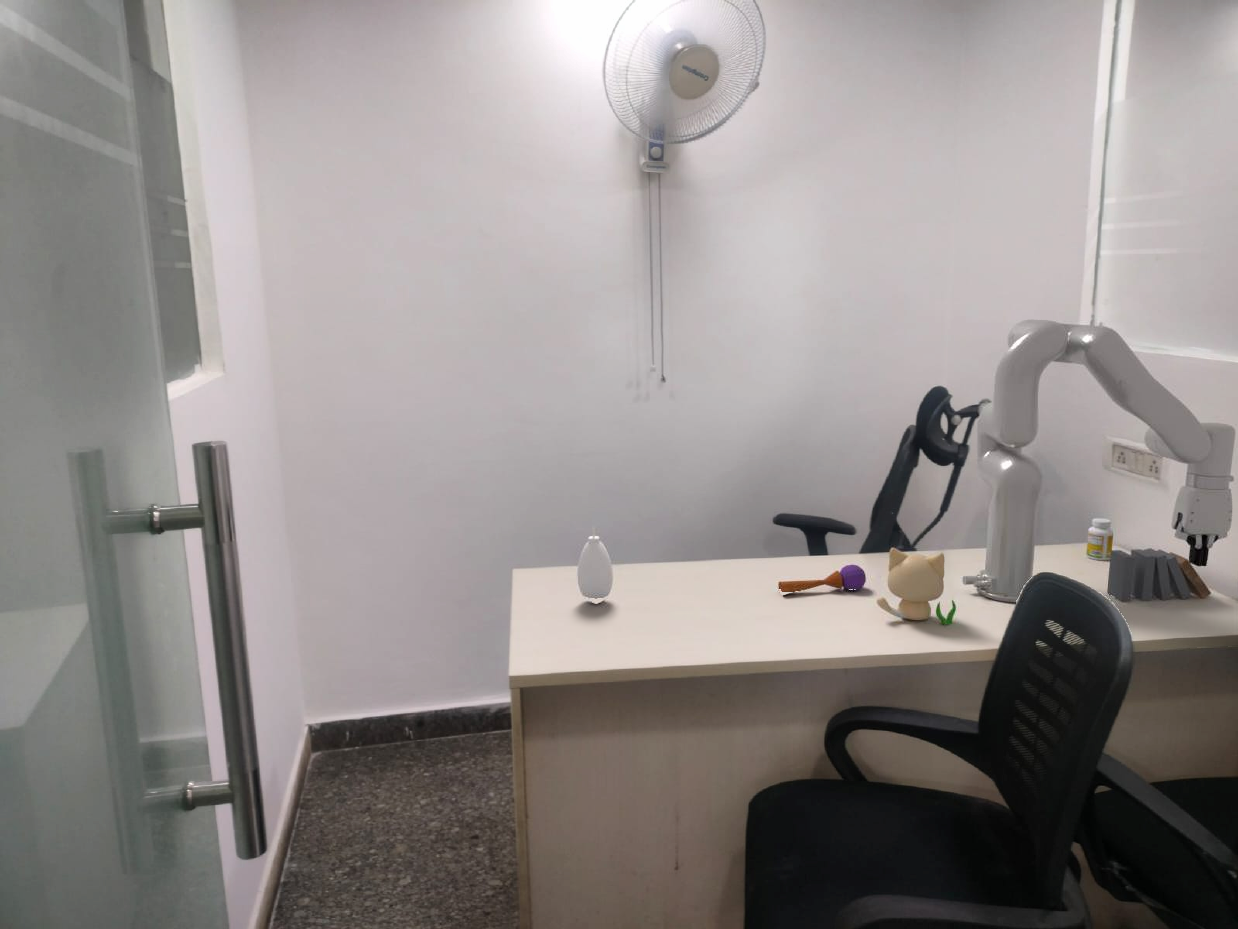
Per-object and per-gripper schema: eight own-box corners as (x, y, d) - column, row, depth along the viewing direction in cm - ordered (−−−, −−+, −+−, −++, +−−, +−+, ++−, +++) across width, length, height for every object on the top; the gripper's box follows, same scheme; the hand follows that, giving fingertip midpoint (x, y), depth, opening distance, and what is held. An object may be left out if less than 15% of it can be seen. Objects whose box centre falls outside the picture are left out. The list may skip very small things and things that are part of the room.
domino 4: (1183, 599, 176) (1166, 560, 174) (1167, 591, 181) (1151, 553, 179) (1191, 595, 176) (1175, 556, 174) (1175, 587, 180) (1159, 549, 179)
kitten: (957, 614, 171) (960, 546, 168) (953, 632, 162) (957, 560, 160) (883, 605, 178) (885, 538, 175) (875, 621, 169) (877, 551, 166)
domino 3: (1162, 600, 176) (1156, 557, 174) (1147, 592, 181) (1141, 550, 179) (1171, 598, 176) (1165, 555, 174) (1156, 590, 180) (1150, 548, 179)
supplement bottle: (1104, 554, 207) (1108, 517, 205) (1115, 561, 202) (1118, 523, 200) (1082, 554, 208) (1085, 517, 206) (1092, 561, 202) (1095, 523, 200)
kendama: (775, 574, 188) (857, 561, 191) (778, 599, 188) (860, 586, 191) (783, 577, 182) (868, 564, 185) (786, 604, 182) (871, 590, 185)
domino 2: (1141, 601, 176) (1146, 556, 174) (1127, 593, 180) (1131, 549, 178) (1151, 601, 176) (1155, 556, 174) (1136, 592, 180) (1140, 549, 179)
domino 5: (1203, 599, 176) (1179, 564, 174) (1187, 590, 181) (1163, 557, 179) (1211, 593, 176) (1187, 559, 174) (1194, 585, 181) (1170, 552, 179)
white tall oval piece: (585, 595, 189) (582, 520, 185) (617, 598, 187) (615, 521, 183) (574, 607, 181) (570, 529, 178) (607, 610, 179) (605, 531, 176)
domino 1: (1121, 602, 175) (1125, 557, 174) (1106, 594, 180) (1111, 550, 178) (1130, 601, 176) (1134, 557, 174) (1115, 593, 180) (1120, 550, 178)
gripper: (1228, 476, 177) (1218, 558, 181) (1160, 478, 177) (1151, 560, 180) (1255, 484, 170) (1244, 569, 173) (1185, 486, 169) (1175, 571, 173)
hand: (1197, 564), depth 177 cm, fingers closed
